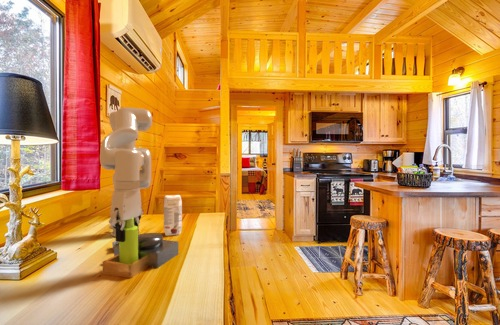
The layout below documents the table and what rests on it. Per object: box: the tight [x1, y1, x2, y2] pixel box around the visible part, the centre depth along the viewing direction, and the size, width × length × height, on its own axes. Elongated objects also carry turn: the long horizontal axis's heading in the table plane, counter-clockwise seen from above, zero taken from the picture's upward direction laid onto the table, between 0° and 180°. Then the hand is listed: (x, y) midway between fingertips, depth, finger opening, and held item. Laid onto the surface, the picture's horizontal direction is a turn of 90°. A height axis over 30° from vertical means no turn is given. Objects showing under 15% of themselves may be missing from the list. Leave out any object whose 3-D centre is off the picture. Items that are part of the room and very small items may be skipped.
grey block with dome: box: [102, 232, 179, 279], centre depth 98 cm, size 18×23×8 cm
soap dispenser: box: [119, 217, 139, 264], centre depth 92 cm, size 6×7×20 cm
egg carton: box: [111, 239, 119, 251], centre depth 113 cm, size 11×8×4 cm
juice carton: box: [163, 194, 183, 237], centre depth 134 cm, size 8×9×19 cm
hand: (127, 237), depth 92 cm, fingers closed on soap dispenser, 5 cm apart
